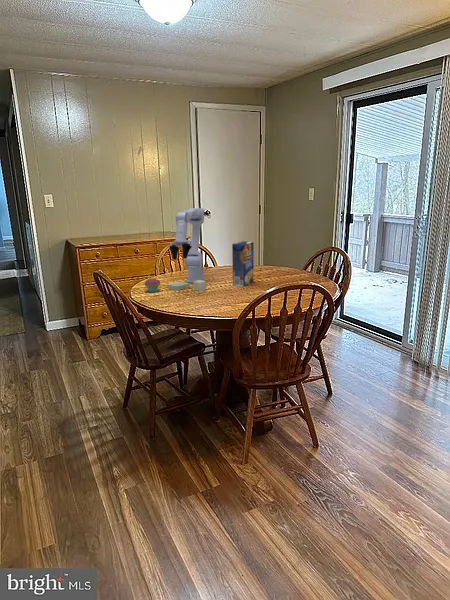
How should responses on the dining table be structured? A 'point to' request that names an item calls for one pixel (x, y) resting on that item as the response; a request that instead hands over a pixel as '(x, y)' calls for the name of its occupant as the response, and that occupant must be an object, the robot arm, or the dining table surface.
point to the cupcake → (152, 284)
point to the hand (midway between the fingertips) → (179, 258)
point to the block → (199, 285)
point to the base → (178, 285)
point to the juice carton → (243, 263)
